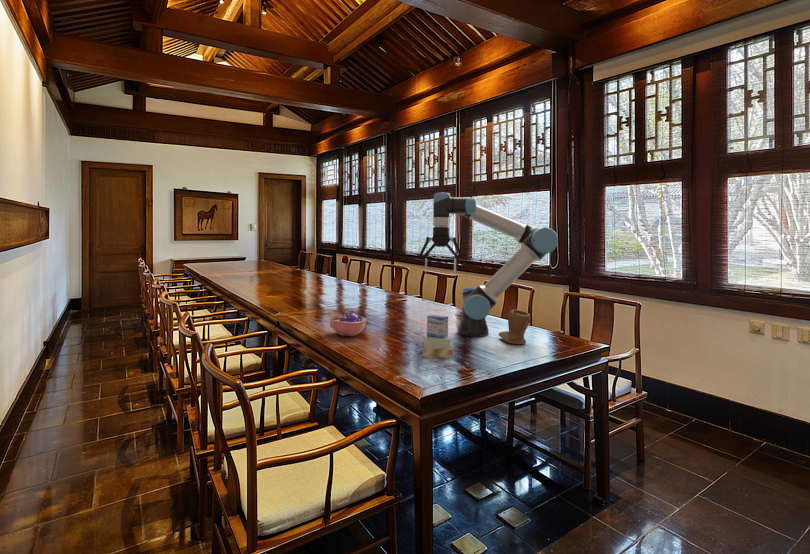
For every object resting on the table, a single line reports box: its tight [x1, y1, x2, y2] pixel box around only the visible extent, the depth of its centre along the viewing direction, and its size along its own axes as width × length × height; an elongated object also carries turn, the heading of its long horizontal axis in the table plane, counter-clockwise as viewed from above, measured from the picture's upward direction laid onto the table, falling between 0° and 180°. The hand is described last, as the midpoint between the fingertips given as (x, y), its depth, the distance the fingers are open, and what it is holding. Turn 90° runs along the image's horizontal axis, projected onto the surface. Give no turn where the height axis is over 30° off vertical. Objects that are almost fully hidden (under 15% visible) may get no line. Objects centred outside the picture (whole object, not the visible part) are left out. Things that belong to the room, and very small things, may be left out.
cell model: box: [329, 312, 368, 337], centre depth 219 cm, size 17×20×11 cm
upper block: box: [422, 332, 451, 349], centre depth 188 cm, size 10×10×4 cm
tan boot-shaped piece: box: [498, 309, 531, 345], centre depth 209 cm, size 15×12×15 cm
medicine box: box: [426, 314, 449, 338], centre depth 187 cm, size 8×4×9 cm, turn 63°
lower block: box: [421, 341, 454, 359], centre depth 188 cm, size 12×12×4 cm
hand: (440, 272), depth 211 cm, fingers open, 13 cm apart
